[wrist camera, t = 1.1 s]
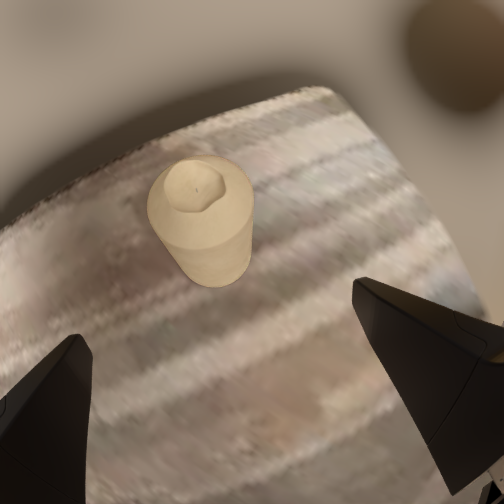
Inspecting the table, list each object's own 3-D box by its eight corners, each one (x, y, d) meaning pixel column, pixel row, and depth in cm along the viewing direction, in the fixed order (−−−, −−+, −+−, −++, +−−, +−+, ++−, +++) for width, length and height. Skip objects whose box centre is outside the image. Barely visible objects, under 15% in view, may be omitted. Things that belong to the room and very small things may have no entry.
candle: (264, 240, 23) (275, 164, 14) (227, 302, 22) (212, 261, 12) (204, 209, 24) (182, 124, 15) (166, 265, 23) (116, 204, 13)
